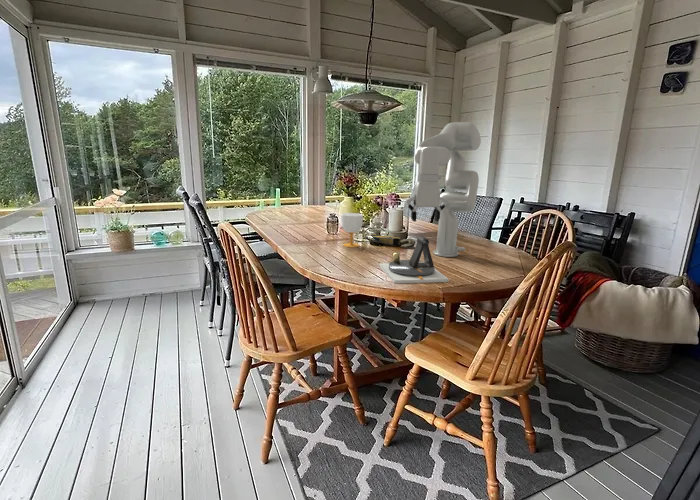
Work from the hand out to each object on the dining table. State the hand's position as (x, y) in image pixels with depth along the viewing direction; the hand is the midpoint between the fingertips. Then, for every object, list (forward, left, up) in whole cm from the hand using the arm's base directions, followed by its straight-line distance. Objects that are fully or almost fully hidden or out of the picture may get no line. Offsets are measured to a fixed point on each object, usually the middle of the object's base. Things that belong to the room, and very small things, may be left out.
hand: (425, 221), depth 156 cm
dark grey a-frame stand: (0, 0, -19) cm, 19 cm away
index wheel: (+5, 0, -21) cm, 21 cm away
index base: (+5, 0, -22) cm, 22 cm away
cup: (+22, -52, -22) cm, 60 cm away
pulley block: (-1, -54, -23) cm, 58 cm away
